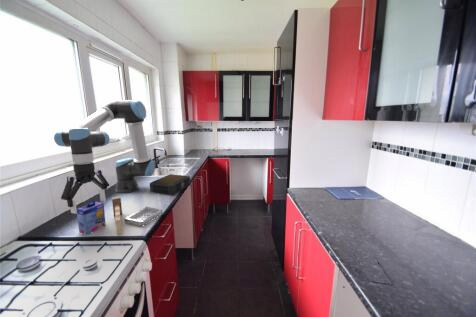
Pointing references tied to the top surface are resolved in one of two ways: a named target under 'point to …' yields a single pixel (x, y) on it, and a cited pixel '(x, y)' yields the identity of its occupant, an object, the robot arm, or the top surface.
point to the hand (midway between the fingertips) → (89, 207)
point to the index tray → (143, 216)
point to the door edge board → (117, 213)
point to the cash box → (170, 184)
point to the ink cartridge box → (91, 217)
